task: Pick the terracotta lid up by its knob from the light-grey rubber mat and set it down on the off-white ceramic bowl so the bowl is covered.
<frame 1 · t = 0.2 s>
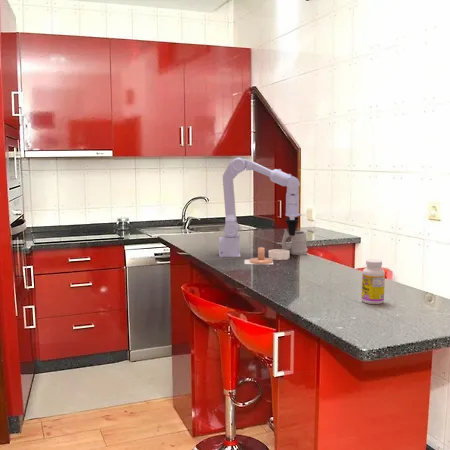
hand: (292, 234, 246), 10 cm above the worktop, fingers open, 7 cm apart
mat: (258, 262, 233), on the worktop
supplement bottle: (372, 302, 169), on the worktop
lid: (261, 261, 233), resting on mat
bowl: (278, 258, 242), on the worktop
mug: (294, 254, 254), on the worktop, touching gripper
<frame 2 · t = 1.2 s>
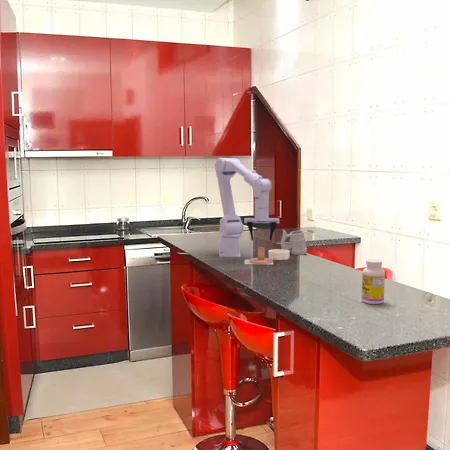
hand: (261, 240, 231), 10 cm above the worktop, fingers open, 7 cm apart
mug: (294, 254, 254), on the worktop
everything else where it was.
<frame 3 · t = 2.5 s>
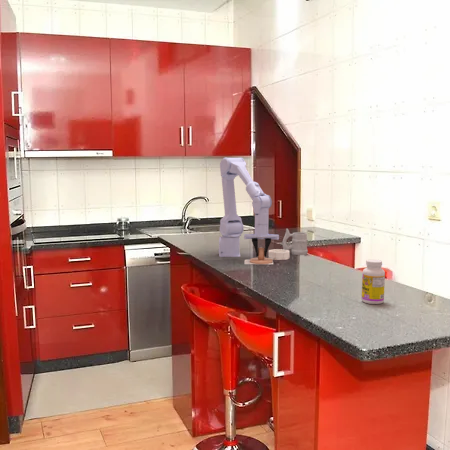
hand: (261, 256, 232), 3 cm above the worktop, fingers closed on lid, 3 cm apart
lid: (261, 261, 233), resting on mat, touching gripper
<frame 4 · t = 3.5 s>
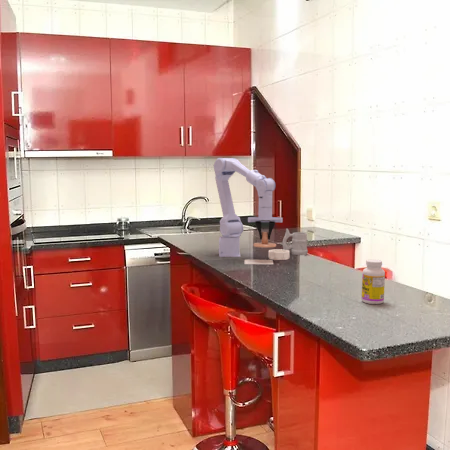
hand: (264, 239, 233), 10 cm above the worktop, fingers closed on lid, 3 cm apart
lid: (264, 246, 233), point 7 cm above the worktop, touching gripper
when the fingers open (7 cm above the worktop, at t = 4.7 s): lid stays where it is, resting on bowl.
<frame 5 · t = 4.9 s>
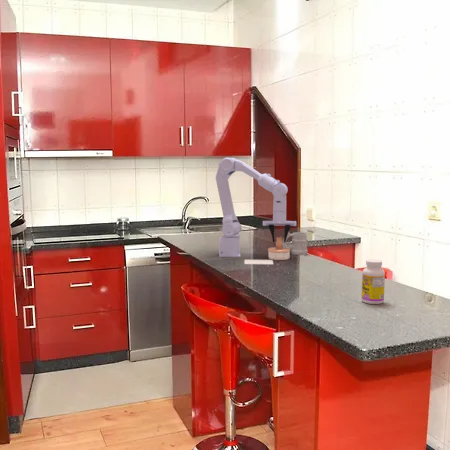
hand: (279, 242, 241), 7 cm above the worktop, fingers open, 4 cm apart
lid: (279, 251, 241), point 3 cm above the worktop, touching bowl
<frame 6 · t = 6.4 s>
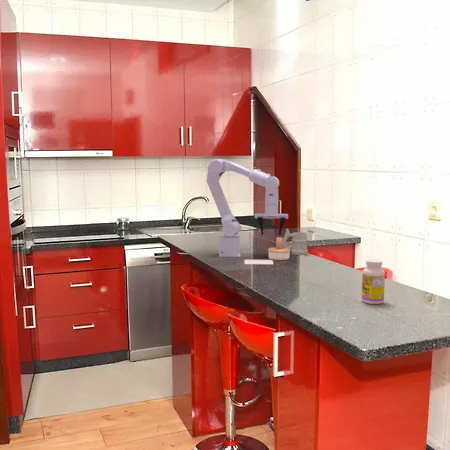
hand: (271, 234, 244), 10 cm above the worktop, fingers open, 7 cm apart
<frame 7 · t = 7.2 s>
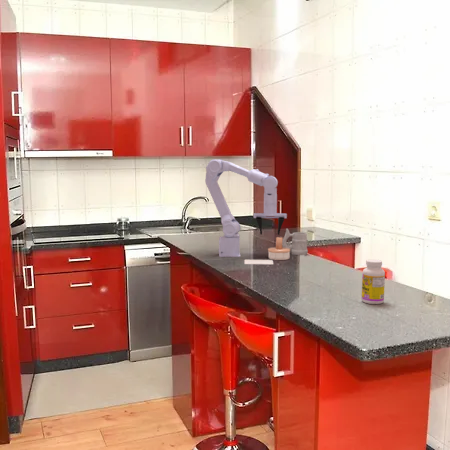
hand: (269, 234, 244), 10 cm above the worktop, fingers open, 7 cm apart
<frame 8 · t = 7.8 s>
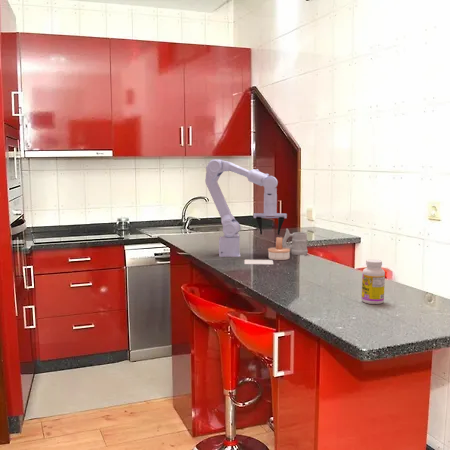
hand: (269, 234, 244), 10 cm above the worktop, fingers open, 7 cm apart
at the end: lid 0.7 cm off-centre on the bowl, point 3.5 cm above the bowl's base; lid tilted 0°; the gripper is holding nothing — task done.
